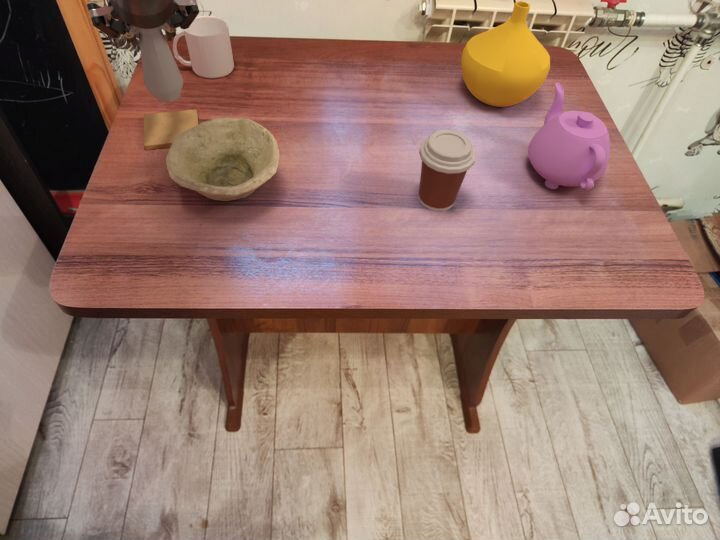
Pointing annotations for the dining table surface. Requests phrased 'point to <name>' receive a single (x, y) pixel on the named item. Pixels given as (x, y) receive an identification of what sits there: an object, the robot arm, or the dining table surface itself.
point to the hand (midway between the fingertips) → (150, 36)
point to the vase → (505, 62)
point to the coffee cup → (443, 168)
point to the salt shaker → (159, 66)
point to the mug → (207, 47)
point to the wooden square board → (167, 127)
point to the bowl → (223, 158)
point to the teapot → (570, 146)
